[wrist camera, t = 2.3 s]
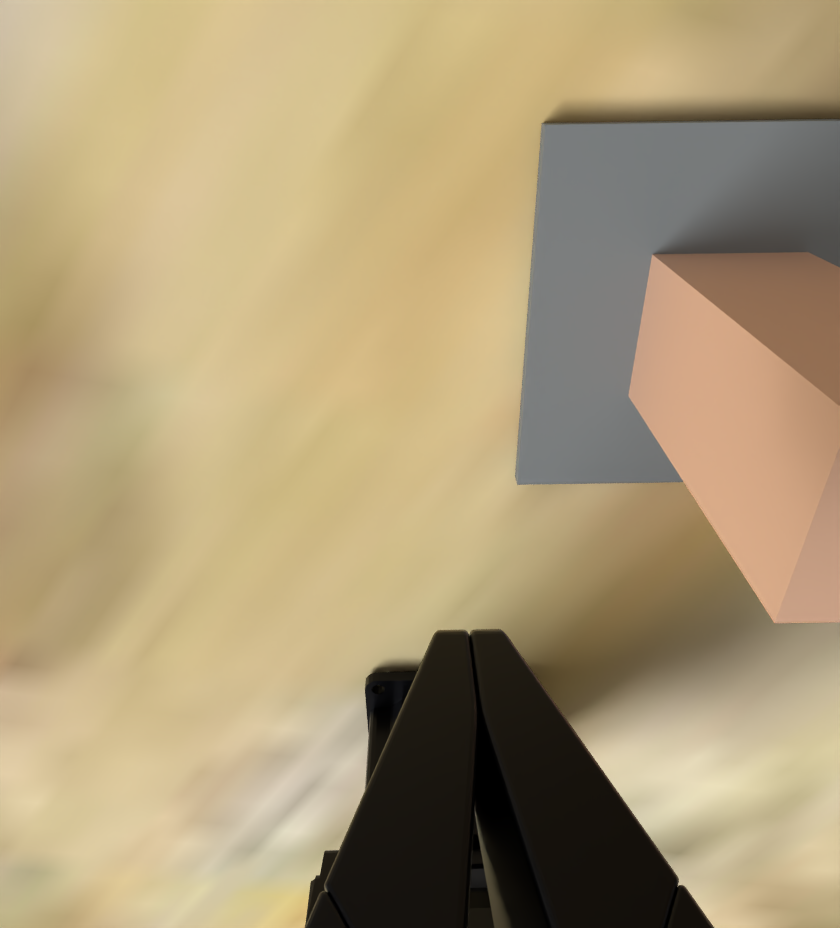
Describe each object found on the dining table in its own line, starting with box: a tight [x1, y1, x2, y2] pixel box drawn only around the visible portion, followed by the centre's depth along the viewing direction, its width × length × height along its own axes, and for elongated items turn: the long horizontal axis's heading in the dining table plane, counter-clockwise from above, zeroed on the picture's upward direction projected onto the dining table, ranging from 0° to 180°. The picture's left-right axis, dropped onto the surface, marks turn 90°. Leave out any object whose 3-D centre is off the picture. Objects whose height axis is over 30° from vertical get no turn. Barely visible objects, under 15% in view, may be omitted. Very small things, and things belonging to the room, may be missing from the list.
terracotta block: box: [628, 252, 840, 623], centre depth 14 cm, size 4×4×9 cm
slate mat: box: [515, 119, 840, 485], centre depth 18 cm, size 16×10×1 cm, turn 91°
